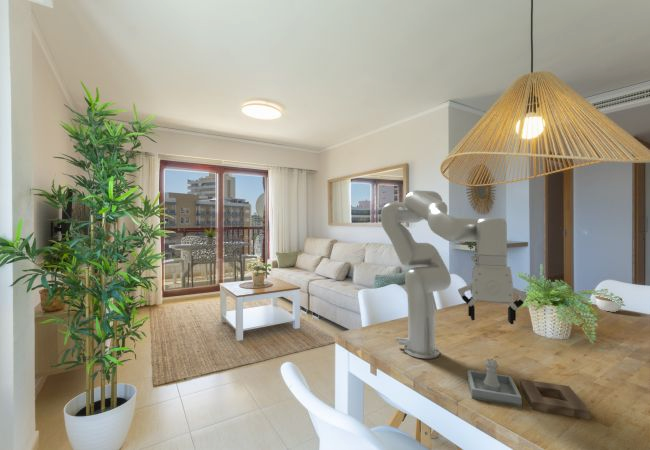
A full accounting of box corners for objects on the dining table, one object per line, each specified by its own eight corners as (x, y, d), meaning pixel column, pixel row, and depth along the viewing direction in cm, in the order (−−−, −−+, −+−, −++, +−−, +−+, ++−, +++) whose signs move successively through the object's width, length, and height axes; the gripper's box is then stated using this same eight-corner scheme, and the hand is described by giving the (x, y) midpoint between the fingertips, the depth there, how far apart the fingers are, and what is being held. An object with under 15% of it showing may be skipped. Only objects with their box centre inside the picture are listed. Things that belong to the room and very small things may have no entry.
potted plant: (591, 307, 169) (590, 291, 169) (614, 309, 166) (613, 292, 166) (603, 313, 158) (602, 295, 158) (627, 314, 156) (627, 296, 156)
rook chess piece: (494, 384, 87) (494, 357, 87) (504, 392, 82) (504, 364, 82) (479, 384, 87) (479, 357, 87) (488, 393, 82) (488, 364, 82)
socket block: (531, 409, 76) (531, 401, 76) (519, 385, 87) (519, 378, 87) (590, 419, 72) (590, 411, 72) (569, 393, 83) (569, 386, 83)
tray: (472, 398, 81) (472, 389, 81) (467, 377, 92) (467, 369, 92) (521, 407, 77) (521, 397, 77) (510, 384, 88) (510, 376, 88)
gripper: (459, 261, 84) (459, 321, 84) (530, 264, 78) (530, 328, 78) (457, 258, 91) (457, 314, 91) (522, 260, 85) (522, 320, 85)
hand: (491, 320), depth 85 cm, fingers open, 9 cm apart
